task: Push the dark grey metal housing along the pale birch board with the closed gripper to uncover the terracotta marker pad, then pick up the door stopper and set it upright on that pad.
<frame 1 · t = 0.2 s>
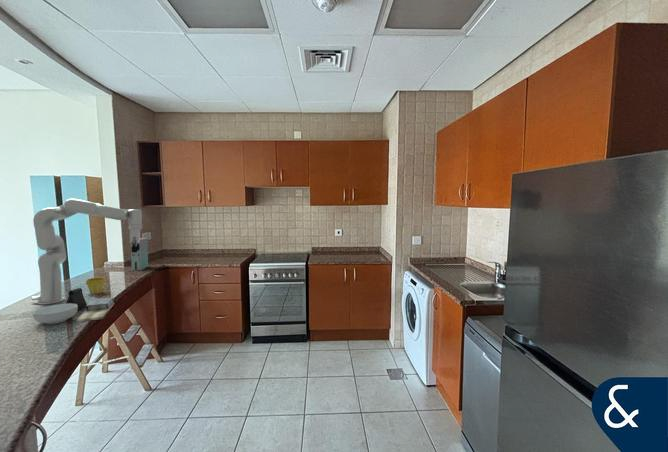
hand: (135, 251, 197), 31 cm above the counter, tool pointing down, fingers open, 9 cm apart
layout board: (97, 312, 164), on the counter
plant pot: (96, 292, 200), on the counter
door stopper: (75, 309, 168), on the counter
housing: (100, 303, 169), point 3 cm above the counter, slide at 0.0 cm
device: (139, 268, 280), on the counter
cereal bowl: (56, 321, 150), on the counter
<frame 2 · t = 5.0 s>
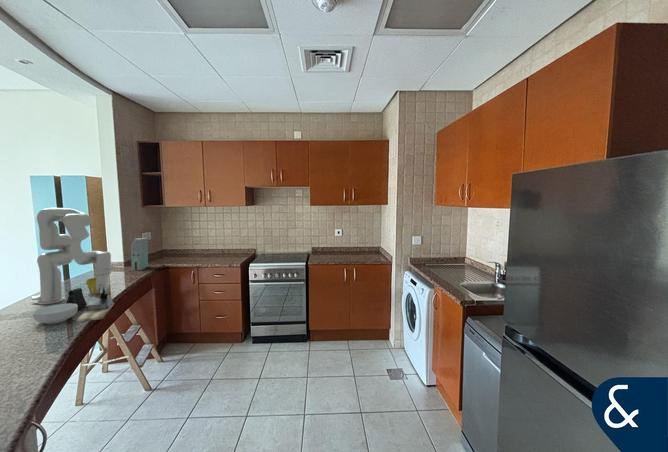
hand: (103, 300, 176), 3 cm above the counter, tool pointing down, fingers closed
housing: (99, 303, 169), point 3 cm above the counter, slide at 0.4 cm, touching gripper
everything else where it was.
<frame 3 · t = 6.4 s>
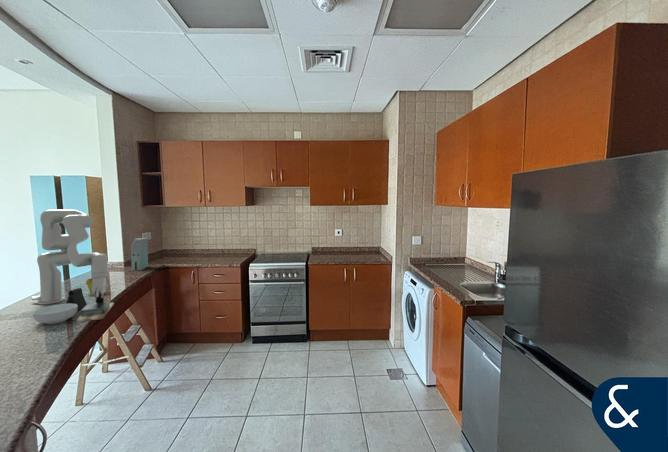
hand: (99, 304, 169), 3 cm above the counter, tool pointing down, fingers closed
housing: (95, 308, 162), point 3 cm above the counter, slide at 8.5 cm, touching gripper
everything else where it was.
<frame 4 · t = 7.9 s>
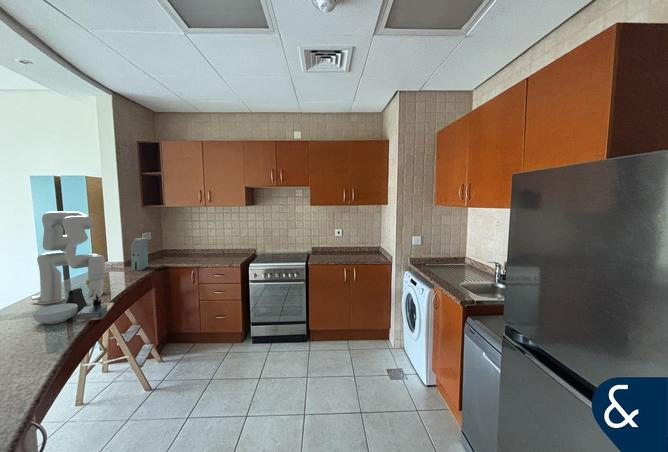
hand: (97, 307, 164), 3 cm above the counter, tool pointing down, fingers closed
housing: (92, 311, 157), point 3 cm above the counter, slide at 14.2 cm, touching gripper
everything else where it was.
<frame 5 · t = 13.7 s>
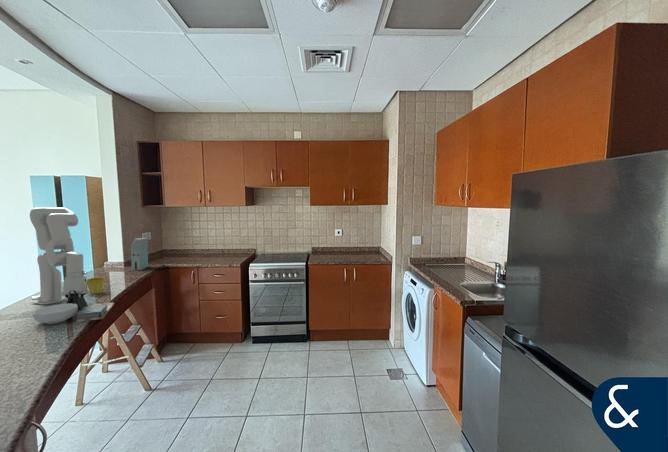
hand: (75, 304, 168), 3 cm above the counter, tool pointing down, fingers closed on door stopper, 2 cm apart
door stopper: (75, 309, 168), on the counter, touching gripper
housing: (92, 311, 156), point 3 cm above the counter, slide at 14.4 cm
everything else where it was.
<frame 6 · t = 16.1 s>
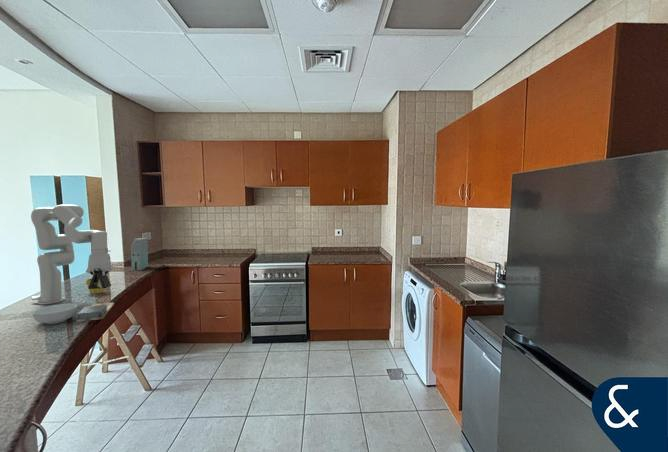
hand: (99, 281, 169), 16 cm above the counter, tool pointing down, fingers closed on door stopper
door stopper: (99, 287, 169), point 13 cm above the counter, touching gripper
everything else where it was.
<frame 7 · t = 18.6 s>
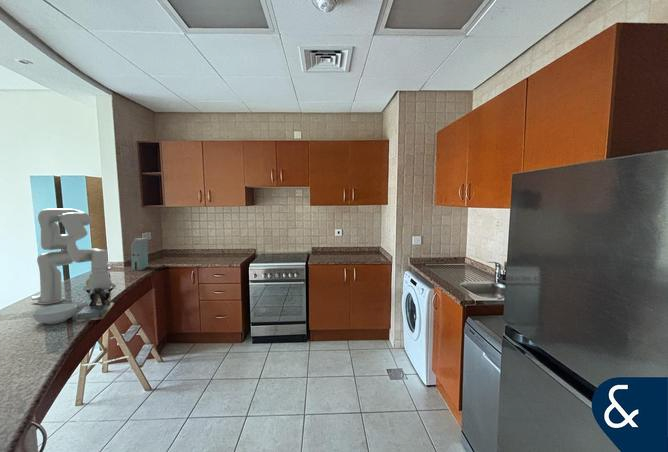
hand: (100, 299, 169), 6 cm above the counter, tool pointing down, fingers open, 6 cm apart
door stopper: (99, 306, 169), point 1 cm above the counter, touching layout board
everything else where it was.
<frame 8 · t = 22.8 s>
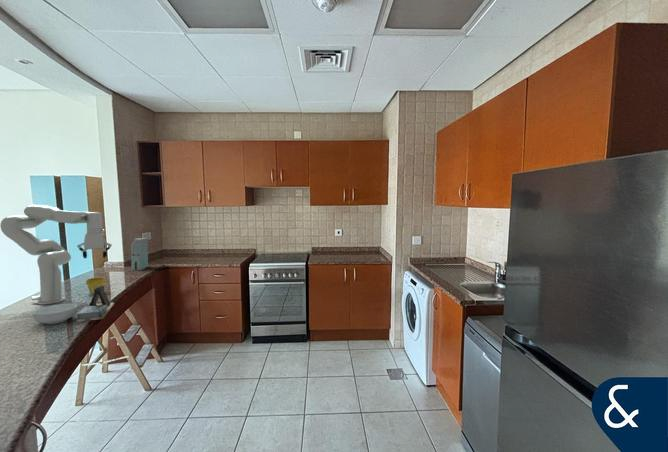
hand: (95, 257, 181), 28 cm above the counter, tool pointing down, fingers open, 9 cm apart
nothing on the counter moved.
at the end: housing slide at 14.4 cm; door stopper 0.3 cm from the target spot, point 1.1 cm above the counter; door stopper tilted 0° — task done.
